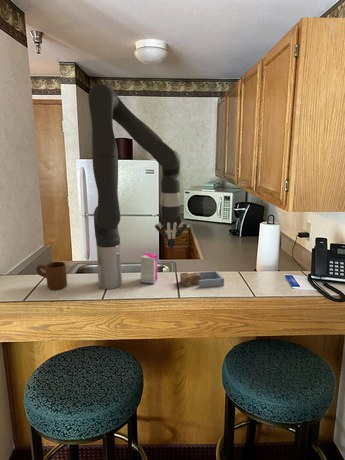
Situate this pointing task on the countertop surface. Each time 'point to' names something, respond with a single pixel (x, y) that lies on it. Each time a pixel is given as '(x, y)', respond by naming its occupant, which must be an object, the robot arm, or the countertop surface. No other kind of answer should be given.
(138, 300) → the countertop surface
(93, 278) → the countertop surface
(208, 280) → the pocket fence
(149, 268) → the supplement box
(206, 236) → the countertop surface
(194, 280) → the tee
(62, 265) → the mug
